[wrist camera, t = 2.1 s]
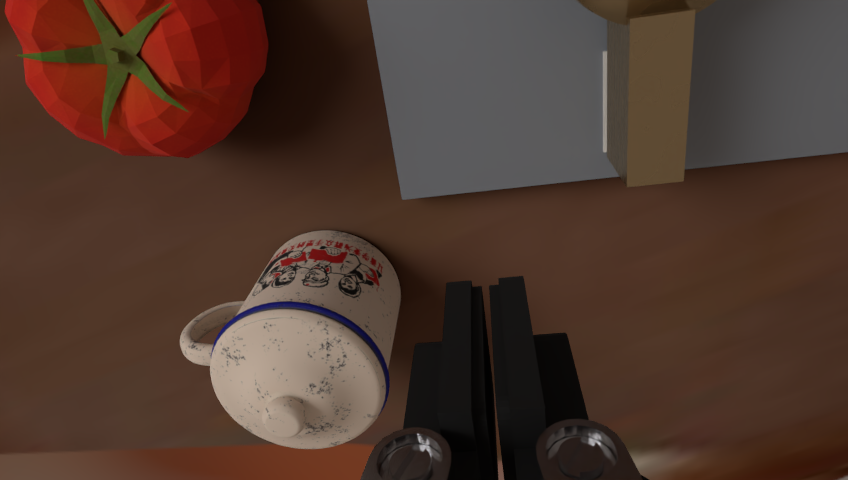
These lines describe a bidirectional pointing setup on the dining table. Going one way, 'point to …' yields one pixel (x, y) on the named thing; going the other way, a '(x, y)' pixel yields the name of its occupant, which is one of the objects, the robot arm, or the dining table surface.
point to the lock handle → (648, 85)
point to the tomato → (143, 68)
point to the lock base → (595, 88)
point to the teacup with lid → (305, 342)
